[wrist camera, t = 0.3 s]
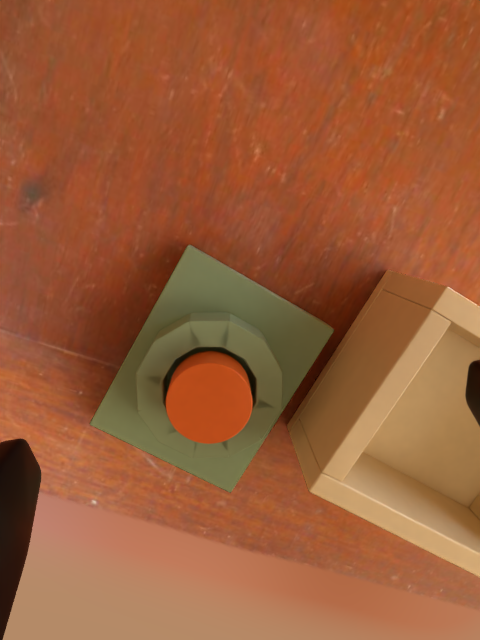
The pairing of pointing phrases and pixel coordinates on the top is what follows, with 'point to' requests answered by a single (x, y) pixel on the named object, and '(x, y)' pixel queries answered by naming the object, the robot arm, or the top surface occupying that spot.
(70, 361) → the top surface
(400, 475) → the shallow tan tray box
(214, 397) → the button
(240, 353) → the control block
